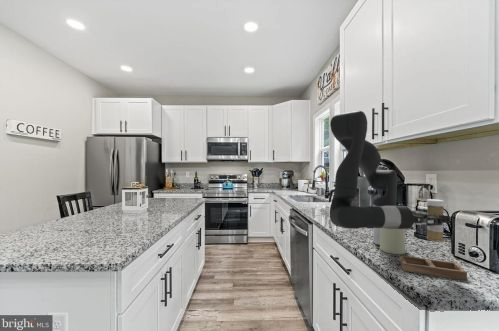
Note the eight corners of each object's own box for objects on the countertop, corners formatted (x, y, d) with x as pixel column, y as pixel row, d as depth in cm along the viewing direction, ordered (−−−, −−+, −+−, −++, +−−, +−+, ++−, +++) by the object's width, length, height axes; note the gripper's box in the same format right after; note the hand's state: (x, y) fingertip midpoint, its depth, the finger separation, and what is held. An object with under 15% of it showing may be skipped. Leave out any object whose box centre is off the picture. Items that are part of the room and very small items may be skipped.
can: (393, 246, 107) (392, 218, 107) (411, 253, 98) (410, 223, 98) (374, 247, 105) (374, 219, 105) (391, 255, 96) (391, 224, 96)
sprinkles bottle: (427, 237, 84) (427, 198, 85) (444, 240, 81) (444, 199, 82) (425, 240, 81) (425, 199, 81) (443, 243, 78) (443, 201, 78)
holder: (399, 262, 89) (399, 255, 89) (456, 269, 82) (456, 262, 82) (403, 270, 81) (403, 263, 81) (467, 280, 74) (466, 272, 74)
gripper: (407, 209, 74) (462, 210, 74) (380, 202, 88) (427, 203, 89) (407, 234, 74) (462, 234, 74) (380, 223, 88) (426, 224, 88)
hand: (442, 217), depth 81 cm, fingers closed on sprinkles bottle, 4 cm apart
